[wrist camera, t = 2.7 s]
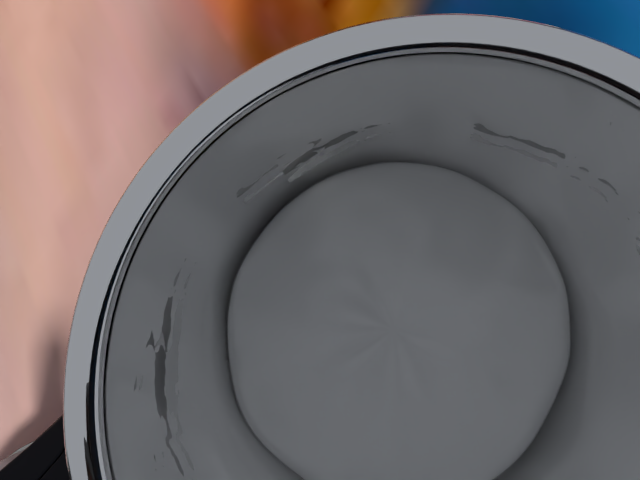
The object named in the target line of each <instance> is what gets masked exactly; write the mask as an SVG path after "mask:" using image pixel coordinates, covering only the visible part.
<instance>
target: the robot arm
mask: <svg viewBox="0 0 640 480" xmlns="http://www.w3.org/2000/svg"><path fill="white" fill-rule="evenodd" d="M0 480H69V476H68V469H67V463H66V454H65V444H64V429H63V415H62V416H61V417H60V418H59V419H58V420H57V421H56V422H55V423H54V424H53V425H51V426H50V427H49V428H48V429H47V430H46V431H45V432H44V433H43V434H42V435H40V436H39V437H38V438H37V439H36V440H35V441H34V442H33V443H32V444H31V445H29V446H28V447H27V448H26V449H25V450H24V451H22V452H21V453H20V454H19V455H18V456H17V457H15V458H14V459H13V460H12V461H11V462H10V463H8V464H7V465H6V466H5V467H4V468H3V469H1V470H0Z"/></svg>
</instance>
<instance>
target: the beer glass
mask: <svg viewBox="0 0 640 480" xmlns="http://www.w3.org/2000/svg"><path fill="white" fill-rule="evenodd" d="M63 429H64V444H65V454H66V463H67V469H68V476H69V480H640V57H638V56H636V55H634V54H631V53H629V52H627V51H625V50H623V49H620V48H618V47H615V46H613V45H611V44H608V43H606V42H603V41H600V40H598V39H595V38H592V37H589V36H586V35H583V34H580V33H577V32H573V31H570V30H567V29H563V28H559V27H555V26H552V25H547V24H543V23H538V22H533V21H528V20H522V19H516V18H509V17H501V16H494V15H481V14H459V13H451V14H426V15H413V16H403V17H396V18H389V19H382V20H377V21H372V22H367V23H363V24H359V25H354V26H350V27H347V28H343V29H340V30H337V31H333V32H330V33H327V34H324V35H321V36H318V37H315V38H313V39H310V40H308V41H305V42H302V43H300V44H298V45H295V46H293V47H291V48H289V49H286V50H284V51H282V52H280V53H278V54H276V55H274V56H272V57H270V58H268V59H266V60H264V61H263V62H261V63H259V64H257V65H255V66H254V67H252V68H250V69H249V70H247V71H245V72H244V73H242V74H241V75H239V76H238V77H236V78H235V79H233V80H232V81H230V82H229V83H227V84H226V85H224V86H223V87H222V88H220V89H219V90H218V91H216V92H215V93H214V94H212V95H211V96H210V97H208V98H207V99H206V100H205V101H204V102H202V103H201V104H200V105H199V106H198V107H196V108H195V109H194V110H193V111H192V112H191V113H190V114H189V115H188V116H186V117H185V118H184V119H183V120H182V121H181V122H180V123H179V124H178V125H177V126H176V127H175V128H174V129H173V130H172V131H171V132H170V133H169V135H168V136H167V137H166V138H165V139H164V140H163V141H162V142H161V143H160V144H159V146H158V147H157V148H156V149H155V150H154V151H153V153H152V154H151V155H150V156H149V158H148V159H147V160H146V162H145V163H144V164H143V165H142V167H141V168H140V169H139V171H138V172H137V174H136V175H135V177H134V178H133V179H132V181H131V182H130V184H129V185H128V187H127V189H126V190H125V192H124V193H123V195H122V196H121V198H120V200H119V201H118V203H117V205H116V207H115V208H114V210H113V212H112V214H111V215H110V217H109V219H108V221H107V223H106V225H105V227H104V229H103V231H102V233H101V236H100V238H99V240H98V242H97V244H96V247H95V249H94V252H93V254H92V256H91V259H90V261H89V264H88V267H87V270H86V273H85V276H84V279H83V282H82V285H81V288H80V292H79V295H78V299H77V302H76V306H75V310H74V314H73V319H72V324H71V328H70V334H69V340H68V346H67V353H66V362H65V373H64V390H63Z"/></svg>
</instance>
